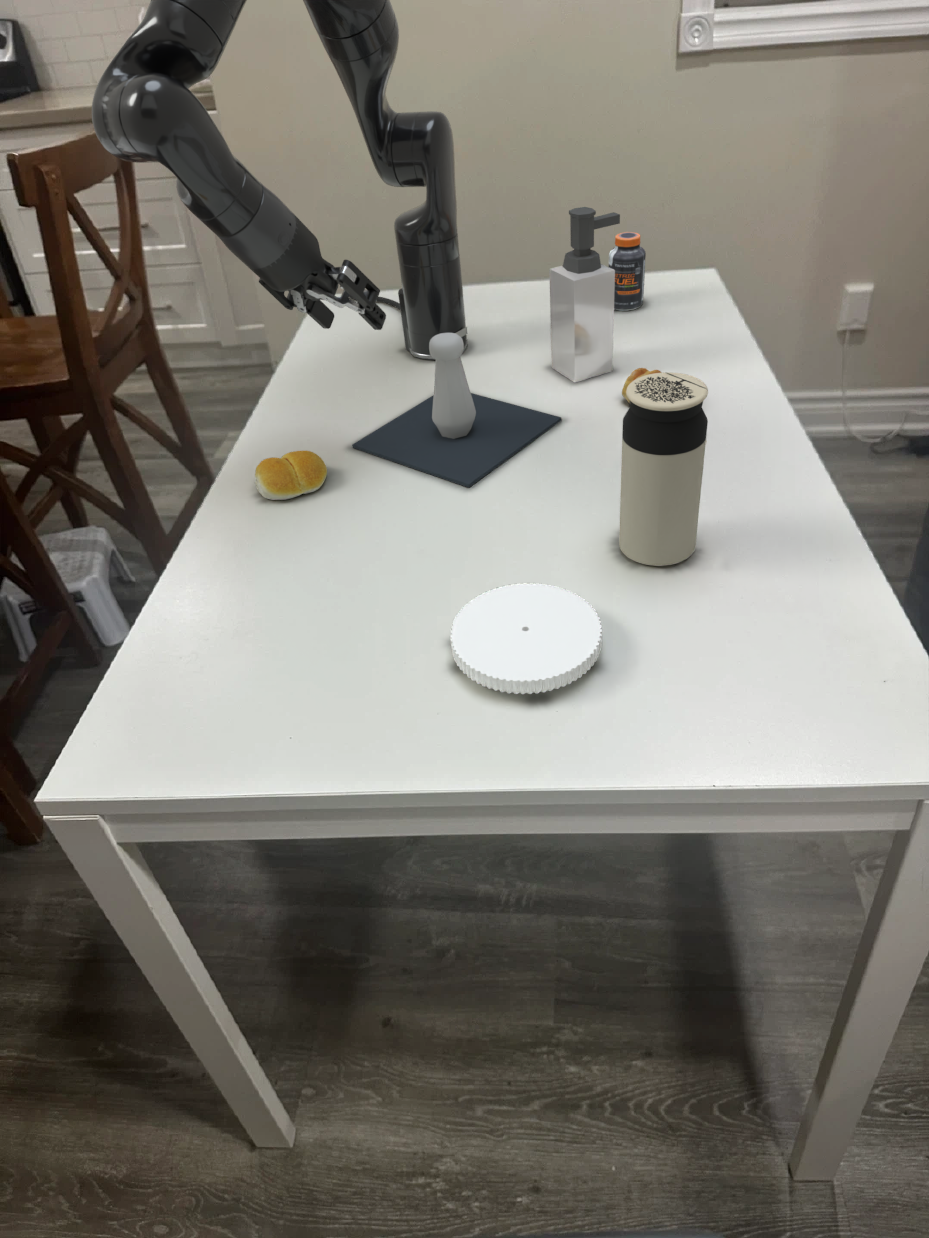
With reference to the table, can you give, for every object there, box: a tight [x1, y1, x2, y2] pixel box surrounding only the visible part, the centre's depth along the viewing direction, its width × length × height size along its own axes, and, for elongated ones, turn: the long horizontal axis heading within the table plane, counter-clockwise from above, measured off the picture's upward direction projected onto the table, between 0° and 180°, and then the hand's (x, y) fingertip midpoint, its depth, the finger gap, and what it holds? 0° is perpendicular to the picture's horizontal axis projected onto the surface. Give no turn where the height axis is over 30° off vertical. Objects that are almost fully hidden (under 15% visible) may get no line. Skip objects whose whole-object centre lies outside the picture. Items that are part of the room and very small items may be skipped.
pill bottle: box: [608, 231, 647, 312], centre depth 142 cm, size 6×6×11 cm
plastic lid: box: [449, 582, 603, 695], centre depth 81 cm, size 14×14×2 cm
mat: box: [351, 392, 562, 489], centre depth 116 cm, size 20×20×1 cm
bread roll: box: [254, 450, 328, 501], centre depth 108 cm, size 8×9×4 cm
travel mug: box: [618, 371, 709, 567], centre depth 86 cm, size 8×8×18 cm
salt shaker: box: [429, 333, 476, 439], centre depth 111 cm, size 6×6×13 cm
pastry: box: [621, 367, 663, 404], centre depth 116 cm, size 9×7×4 cm
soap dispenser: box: [548, 206, 621, 384], centre depth 121 cm, size 6×9×22 cm
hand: (355, 323), depth 106 cm, fingers open, 8 cm apart
